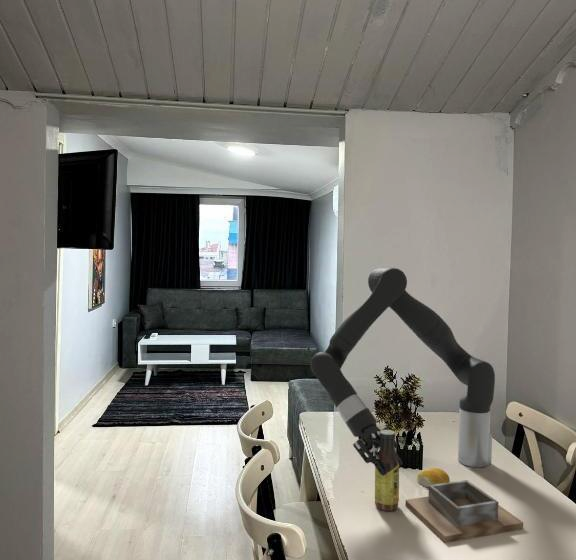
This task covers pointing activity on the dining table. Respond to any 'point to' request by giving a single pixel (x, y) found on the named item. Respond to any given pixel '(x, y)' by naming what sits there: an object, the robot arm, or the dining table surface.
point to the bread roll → (433, 477)
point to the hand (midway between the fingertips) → (392, 469)
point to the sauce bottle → (389, 482)
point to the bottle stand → (461, 512)
